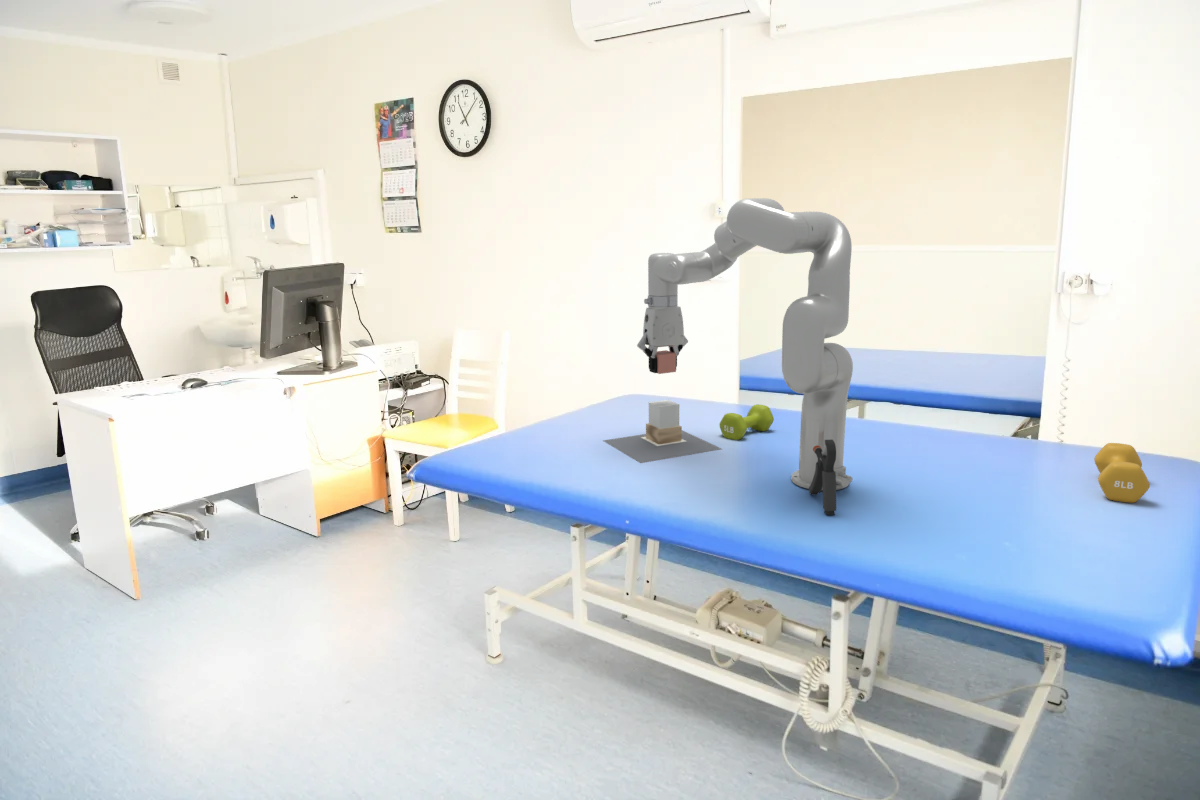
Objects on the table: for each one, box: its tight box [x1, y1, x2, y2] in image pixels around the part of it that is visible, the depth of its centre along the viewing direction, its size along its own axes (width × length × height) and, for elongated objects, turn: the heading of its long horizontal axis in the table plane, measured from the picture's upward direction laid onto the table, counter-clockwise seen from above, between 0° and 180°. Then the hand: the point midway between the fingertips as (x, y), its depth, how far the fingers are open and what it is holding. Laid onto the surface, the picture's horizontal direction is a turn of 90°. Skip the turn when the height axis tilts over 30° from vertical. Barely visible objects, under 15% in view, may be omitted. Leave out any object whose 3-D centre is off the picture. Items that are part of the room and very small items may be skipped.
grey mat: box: [602, 430, 723, 464], centre depth 204 cm, size 22×24×1 cm
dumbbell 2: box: [1093, 442, 1150, 504], centre depth 167 cm, size 19×9×8 cm, turn 150°
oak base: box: [645, 422, 683, 444], centre depth 209 cm, size 7×7×4 cm
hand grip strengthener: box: [808, 440, 837, 516], centre depth 160 cm, size 2×12×15 cm, turn 2°
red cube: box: [656, 349, 677, 375], centre depth 204 cm, size 5×5×5 cm
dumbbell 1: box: [719, 404, 775, 441], centre depth 213 cm, size 16×8×7 cm, turn 133°
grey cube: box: [648, 399, 680, 429], centre depth 207 cm, size 6×6×6 cm
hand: (662, 370), depth 204 cm, fingers closed on red cube, 5 cm apart
